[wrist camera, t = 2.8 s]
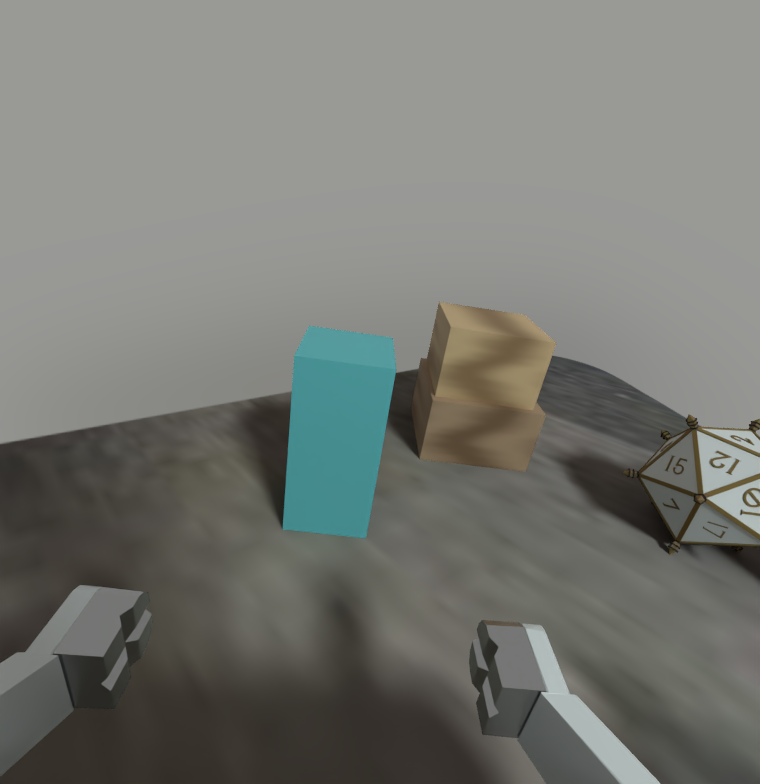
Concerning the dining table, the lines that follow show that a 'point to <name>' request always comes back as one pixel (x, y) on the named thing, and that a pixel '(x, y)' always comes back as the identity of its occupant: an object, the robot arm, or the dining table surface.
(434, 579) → the dining table surface
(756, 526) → the game die
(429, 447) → the walnut base block
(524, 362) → the oak top block
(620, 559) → the dining table surface
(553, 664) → the robot arm
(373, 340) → the teal pillar
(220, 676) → the dining table surface
